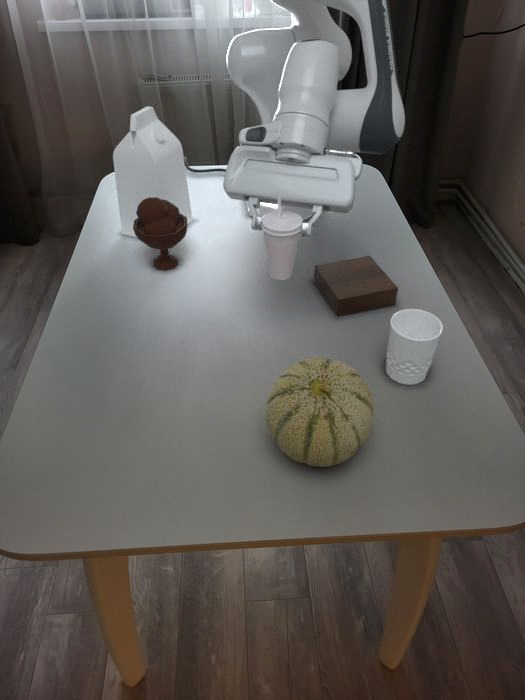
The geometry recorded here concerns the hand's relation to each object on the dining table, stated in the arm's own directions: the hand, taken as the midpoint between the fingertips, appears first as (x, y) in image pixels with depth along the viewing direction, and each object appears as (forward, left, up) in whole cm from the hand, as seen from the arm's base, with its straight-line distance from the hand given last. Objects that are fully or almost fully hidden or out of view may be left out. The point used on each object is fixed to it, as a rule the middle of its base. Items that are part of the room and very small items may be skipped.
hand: (280, 232), depth 85 cm
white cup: (+15, +17, -21) cm, 31 cm away
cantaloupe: (+25, -3, -21) cm, 33 cm away
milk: (-46, -14, -21) cm, 53 cm away
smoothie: (-1, 0, -8) cm, 8 cm away
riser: (-8, +18, -21) cm, 29 cm away
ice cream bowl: (-30, -15, -21) cm, 40 cm away
